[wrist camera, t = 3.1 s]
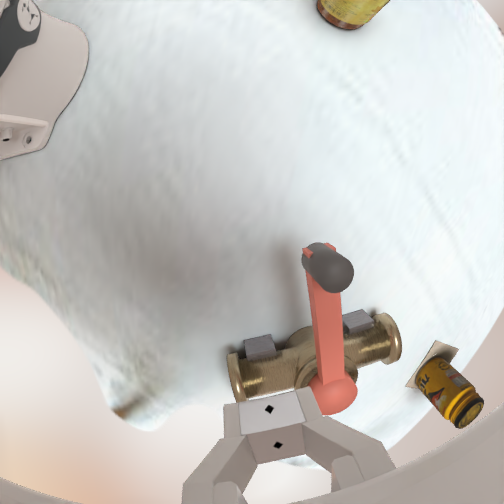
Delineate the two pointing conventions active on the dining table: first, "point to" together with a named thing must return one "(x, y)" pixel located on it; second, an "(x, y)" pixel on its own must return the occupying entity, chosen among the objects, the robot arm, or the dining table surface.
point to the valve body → (311, 356)
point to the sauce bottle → (350, 11)
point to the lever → (328, 325)
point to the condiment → (447, 386)
